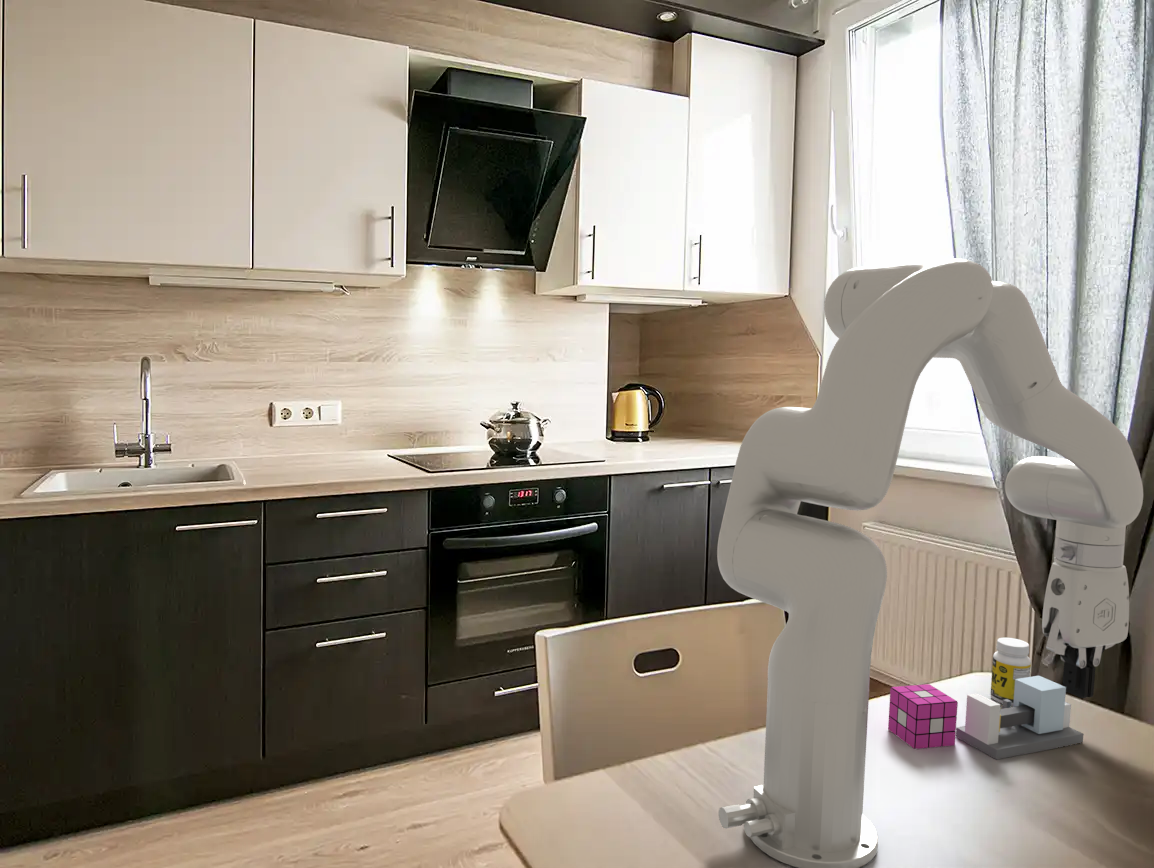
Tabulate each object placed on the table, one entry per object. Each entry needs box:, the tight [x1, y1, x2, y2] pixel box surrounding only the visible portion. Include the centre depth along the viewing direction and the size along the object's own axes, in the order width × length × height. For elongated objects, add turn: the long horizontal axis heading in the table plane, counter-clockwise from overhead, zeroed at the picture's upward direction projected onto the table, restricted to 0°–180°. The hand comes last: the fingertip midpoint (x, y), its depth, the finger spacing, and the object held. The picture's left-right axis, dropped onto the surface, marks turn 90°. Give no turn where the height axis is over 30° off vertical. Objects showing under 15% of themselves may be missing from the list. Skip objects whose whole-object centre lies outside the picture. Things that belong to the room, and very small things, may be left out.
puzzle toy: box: [887, 683, 958, 750], centre depth 108 cm, size 6×6×6 cm
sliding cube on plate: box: [955, 692, 1084, 760], centre depth 108 cm, size 14×6×6 cm, turn 110°
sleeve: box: [1012, 675, 1067, 734], centre depth 108 cm, size 4×4×6 cm
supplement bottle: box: [990, 637, 1032, 707], centre depth 120 cm, size 5×5×8 cm
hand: (1077, 693), depth 111 cm, fingers closed
